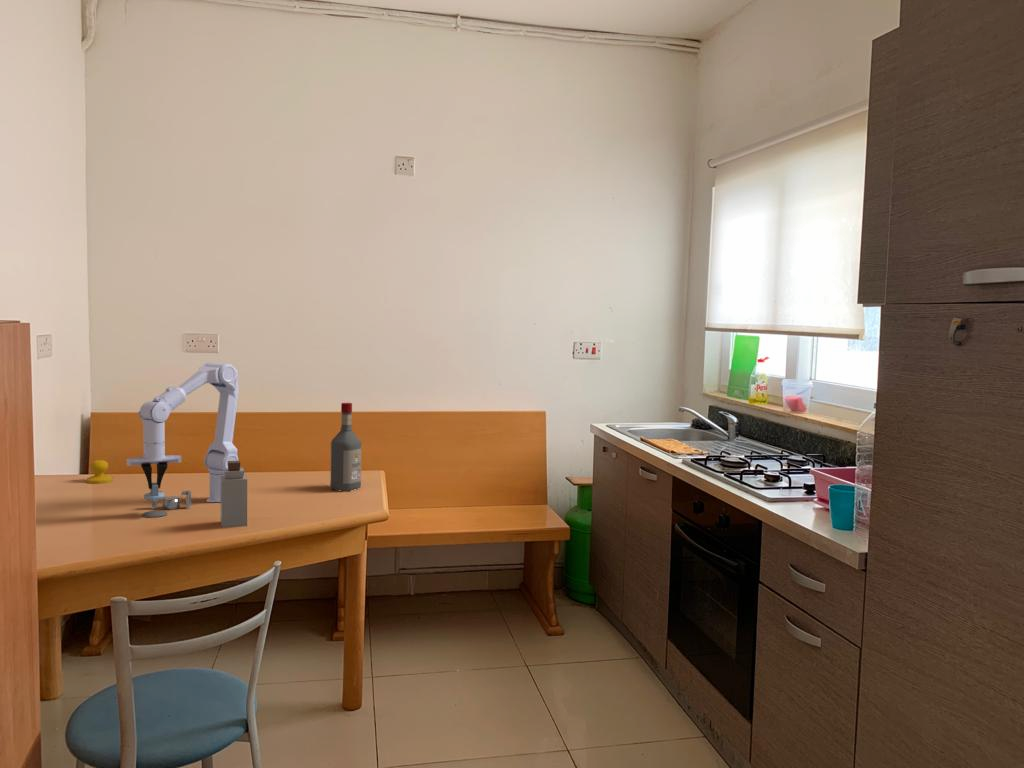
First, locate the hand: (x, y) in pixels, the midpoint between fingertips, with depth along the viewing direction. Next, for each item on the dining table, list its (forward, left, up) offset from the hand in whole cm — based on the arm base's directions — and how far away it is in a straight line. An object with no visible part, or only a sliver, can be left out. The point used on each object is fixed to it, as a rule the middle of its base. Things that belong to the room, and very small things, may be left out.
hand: (154, 488), depth 233 cm
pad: (0, 0, -8) cm, 8 cm away
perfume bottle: (-24, +12, -8) cm, 28 cm away
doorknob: (+29, -49, -8) cm, 57 cm away
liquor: (-55, -32, -8) cm, 64 cm away
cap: (0, 0, -3) cm, 3 cm away
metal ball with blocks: (-3, -8, -8) cm, 12 cm away
